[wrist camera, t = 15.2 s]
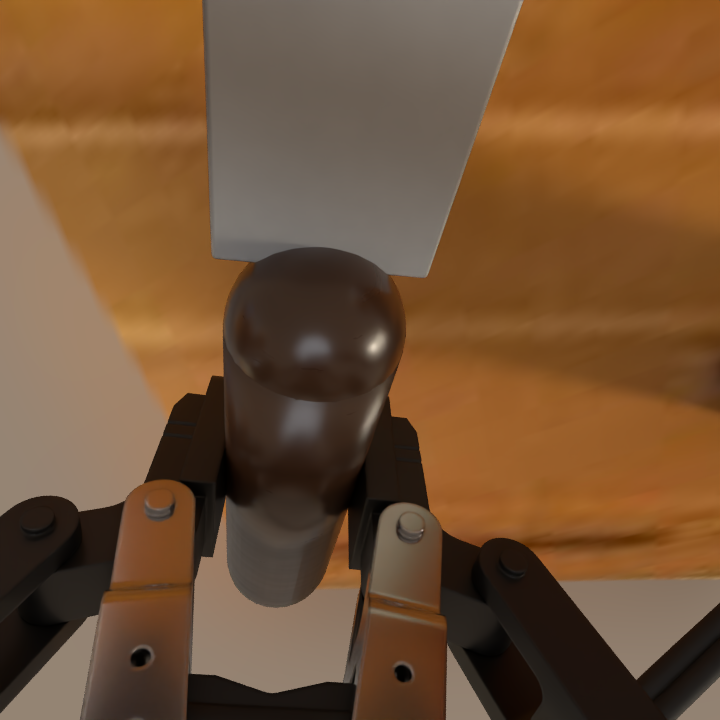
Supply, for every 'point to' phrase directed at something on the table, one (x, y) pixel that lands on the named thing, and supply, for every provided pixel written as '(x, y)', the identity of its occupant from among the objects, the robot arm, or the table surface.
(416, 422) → the table surface
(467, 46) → the brown-handled spatula
